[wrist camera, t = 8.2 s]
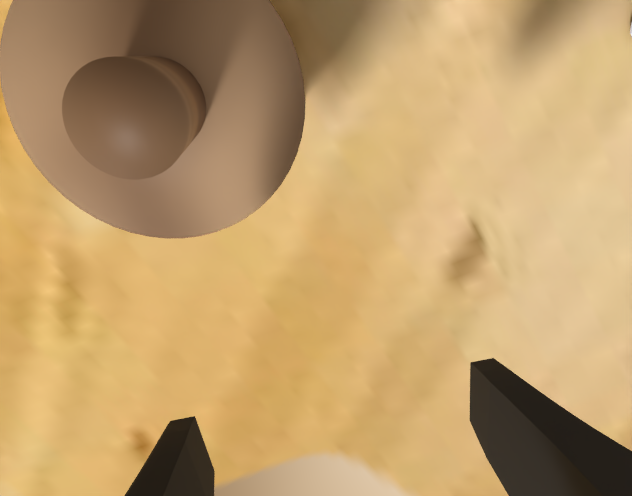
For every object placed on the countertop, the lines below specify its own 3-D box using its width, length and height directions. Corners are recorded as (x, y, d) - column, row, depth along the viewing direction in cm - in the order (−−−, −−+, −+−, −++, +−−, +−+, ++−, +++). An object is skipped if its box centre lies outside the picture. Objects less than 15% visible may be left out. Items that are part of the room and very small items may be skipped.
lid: (296, -63, 12) (313, -124, 8) (306, 219, 16) (322, 277, 11) (-25, -62, 11) (-189, -128, 7) (62, 235, 15) (-14, 303, 11)
